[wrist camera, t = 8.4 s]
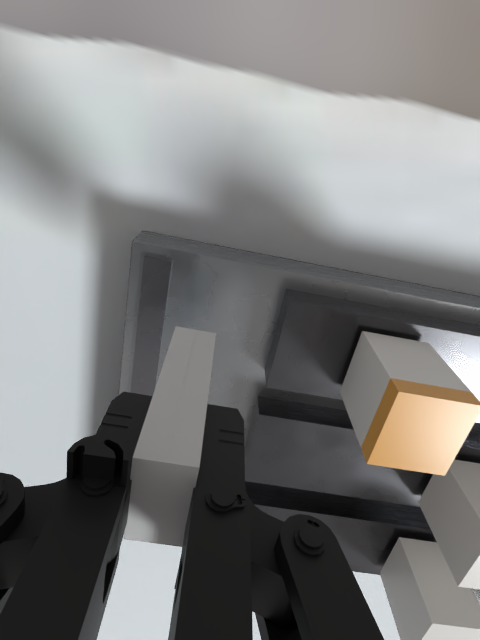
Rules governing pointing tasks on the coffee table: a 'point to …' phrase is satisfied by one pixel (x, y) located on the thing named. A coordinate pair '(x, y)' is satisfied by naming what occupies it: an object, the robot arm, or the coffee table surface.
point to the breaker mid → (456, 519)
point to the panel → (254, 307)
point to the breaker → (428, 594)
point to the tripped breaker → (407, 404)
